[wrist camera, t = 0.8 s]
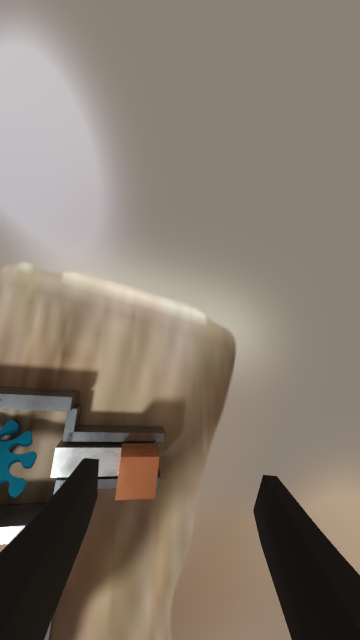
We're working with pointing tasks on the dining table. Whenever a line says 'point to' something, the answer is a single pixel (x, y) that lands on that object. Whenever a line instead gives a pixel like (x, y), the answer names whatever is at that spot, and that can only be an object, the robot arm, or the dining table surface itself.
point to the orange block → (114, 464)
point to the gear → (14, 457)
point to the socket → (20, 515)
